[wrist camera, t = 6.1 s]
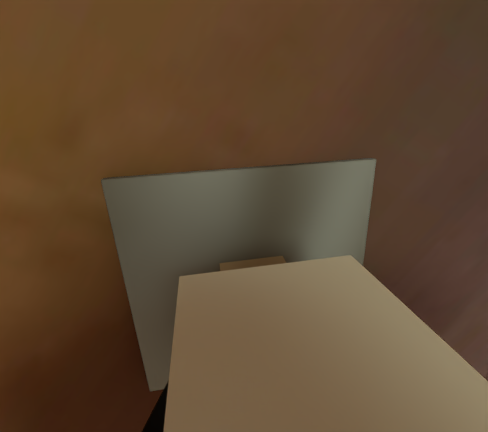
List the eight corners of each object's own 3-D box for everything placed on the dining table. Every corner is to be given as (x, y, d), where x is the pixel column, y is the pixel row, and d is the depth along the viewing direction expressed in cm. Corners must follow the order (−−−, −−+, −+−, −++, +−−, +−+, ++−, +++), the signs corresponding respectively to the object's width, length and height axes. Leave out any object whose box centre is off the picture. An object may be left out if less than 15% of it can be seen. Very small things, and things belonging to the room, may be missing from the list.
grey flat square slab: (371, 158, 11) (628, 224, 4) (348, 351, 14) (472, 544, 8) (103, 178, 10) (-91, 315, 3) (151, 385, 13) (106, 653, 7)
